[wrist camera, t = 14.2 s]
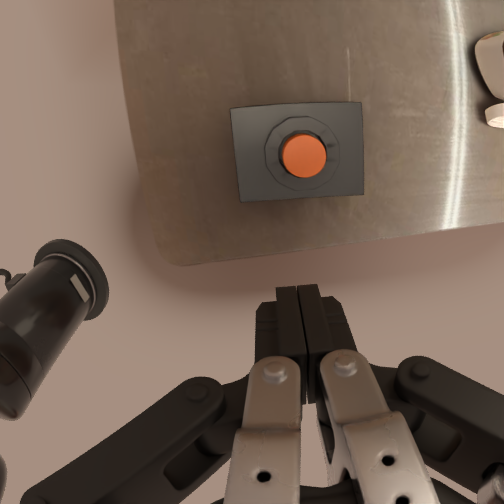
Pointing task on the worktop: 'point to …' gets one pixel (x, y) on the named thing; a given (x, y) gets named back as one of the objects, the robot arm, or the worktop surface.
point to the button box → (279, 131)
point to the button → (303, 155)
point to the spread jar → (492, 73)
